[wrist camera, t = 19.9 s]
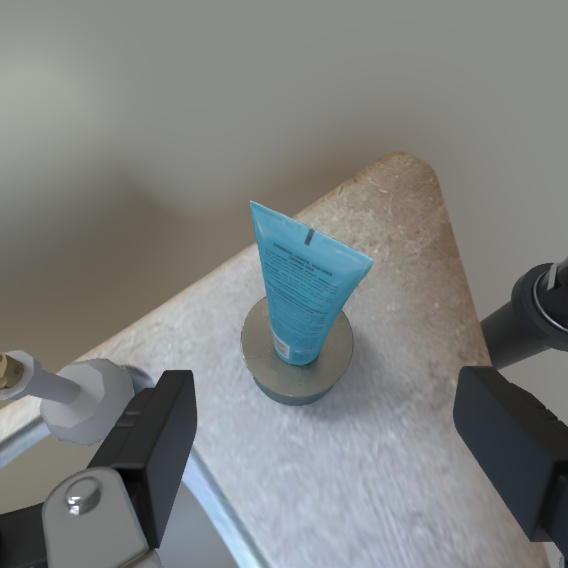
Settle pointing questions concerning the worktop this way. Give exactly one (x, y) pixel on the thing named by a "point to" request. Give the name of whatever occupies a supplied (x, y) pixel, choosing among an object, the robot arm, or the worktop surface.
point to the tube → (303, 281)
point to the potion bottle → (70, 394)
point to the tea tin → (287, 377)
